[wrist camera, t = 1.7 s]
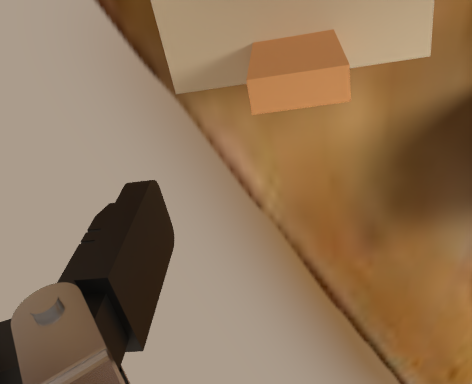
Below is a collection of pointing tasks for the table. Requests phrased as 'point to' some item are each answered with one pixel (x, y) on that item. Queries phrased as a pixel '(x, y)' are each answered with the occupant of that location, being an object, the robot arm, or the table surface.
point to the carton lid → (287, 45)
